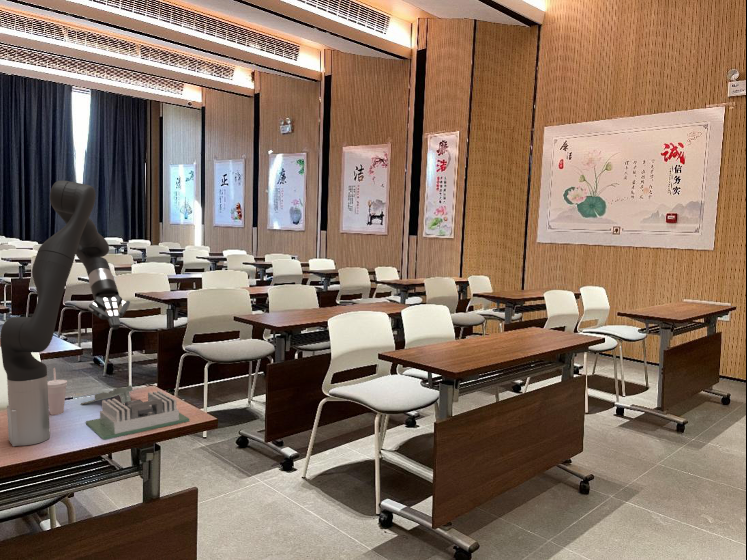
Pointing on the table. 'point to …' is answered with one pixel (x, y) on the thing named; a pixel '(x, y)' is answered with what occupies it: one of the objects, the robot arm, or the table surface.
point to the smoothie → (56, 395)
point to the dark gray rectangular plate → (140, 409)
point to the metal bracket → (115, 394)
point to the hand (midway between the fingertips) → (116, 327)
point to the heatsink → (136, 416)
